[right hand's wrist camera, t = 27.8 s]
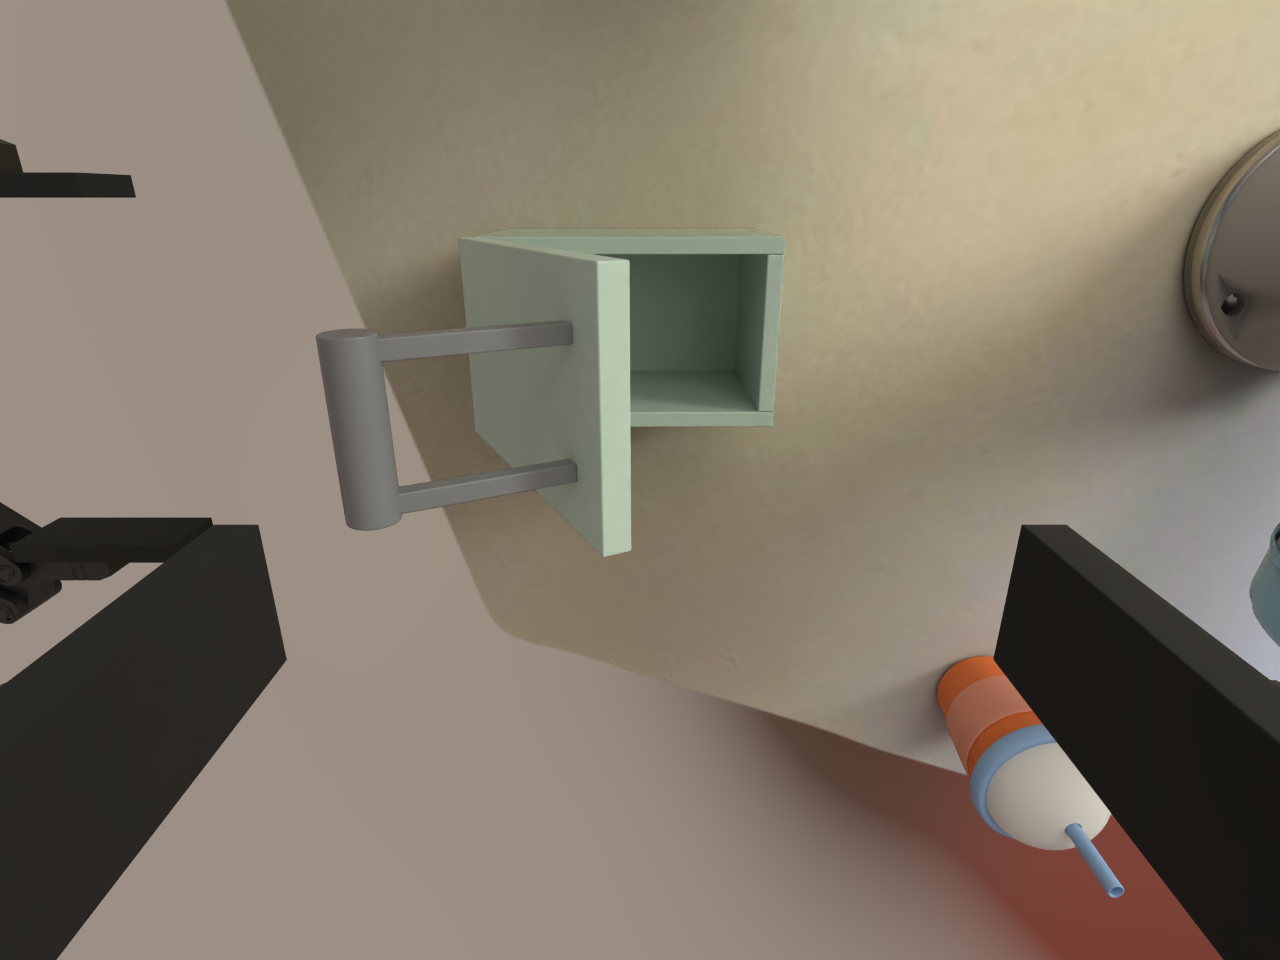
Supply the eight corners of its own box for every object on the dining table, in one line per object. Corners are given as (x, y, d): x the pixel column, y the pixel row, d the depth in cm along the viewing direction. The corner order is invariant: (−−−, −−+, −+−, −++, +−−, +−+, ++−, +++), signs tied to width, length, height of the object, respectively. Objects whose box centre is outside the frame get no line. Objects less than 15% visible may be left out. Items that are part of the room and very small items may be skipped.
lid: (630, 259, 21) (311, 272, 18) (632, 551, 25) (365, 614, 21) (480, 237, 34) (280, 241, 31) (495, 429, 38) (317, 454, 34)
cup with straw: (910, 734, 58) (1019, 949, 42) (925, 638, 55) (1050, 830, 38) (1022, 734, 58) (1176, 949, 42) (1045, 638, 55) (1221, 829, 38)
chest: (753, 228, 45) (785, 236, 35) (745, 379, 48) (772, 427, 38) (509, 228, 45) (472, 236, 35) (519, 380, 48) (487, 427, 38)
